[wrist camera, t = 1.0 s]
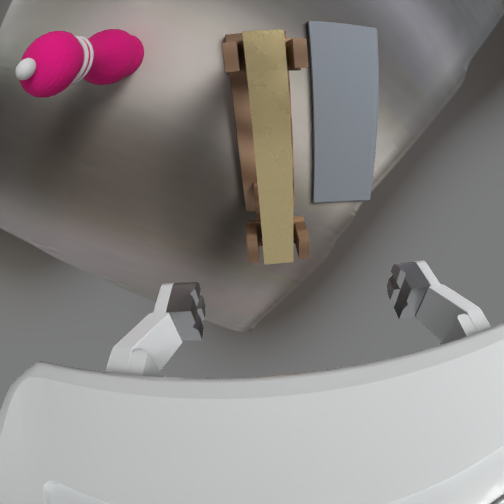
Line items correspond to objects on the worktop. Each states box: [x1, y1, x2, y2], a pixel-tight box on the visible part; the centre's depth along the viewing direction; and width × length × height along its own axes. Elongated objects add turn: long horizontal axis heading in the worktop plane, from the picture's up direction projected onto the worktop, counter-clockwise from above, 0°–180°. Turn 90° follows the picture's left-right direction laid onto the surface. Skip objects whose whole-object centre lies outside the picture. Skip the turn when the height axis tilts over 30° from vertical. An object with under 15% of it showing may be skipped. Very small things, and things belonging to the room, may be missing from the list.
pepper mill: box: [15, 29, 144, 97], centre depth 18 cm, size 7×7×20 cm
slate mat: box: [307, 21, 379, 203], centre depth 32 cm, size 26×9×1 cm, turn 5°
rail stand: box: [222, 31, 310, 263], centre depth 27 cm, size 25×7×15 cm, turn 5°
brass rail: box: [242, 30, 293, 264], centre depth 23 cm, size 22×3×2 cm, turn 5°
